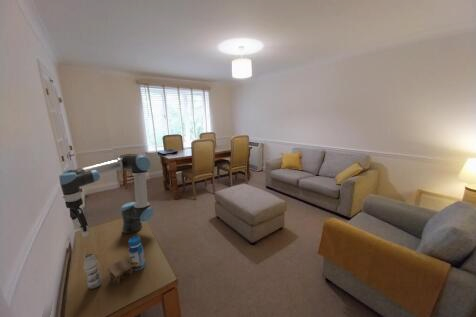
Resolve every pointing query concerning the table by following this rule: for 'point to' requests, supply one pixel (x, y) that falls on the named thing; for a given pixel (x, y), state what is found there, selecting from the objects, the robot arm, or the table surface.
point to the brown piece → (120, 269)
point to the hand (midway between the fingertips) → (81, 232)
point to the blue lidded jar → (136, 253)
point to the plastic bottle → (92, 271)
